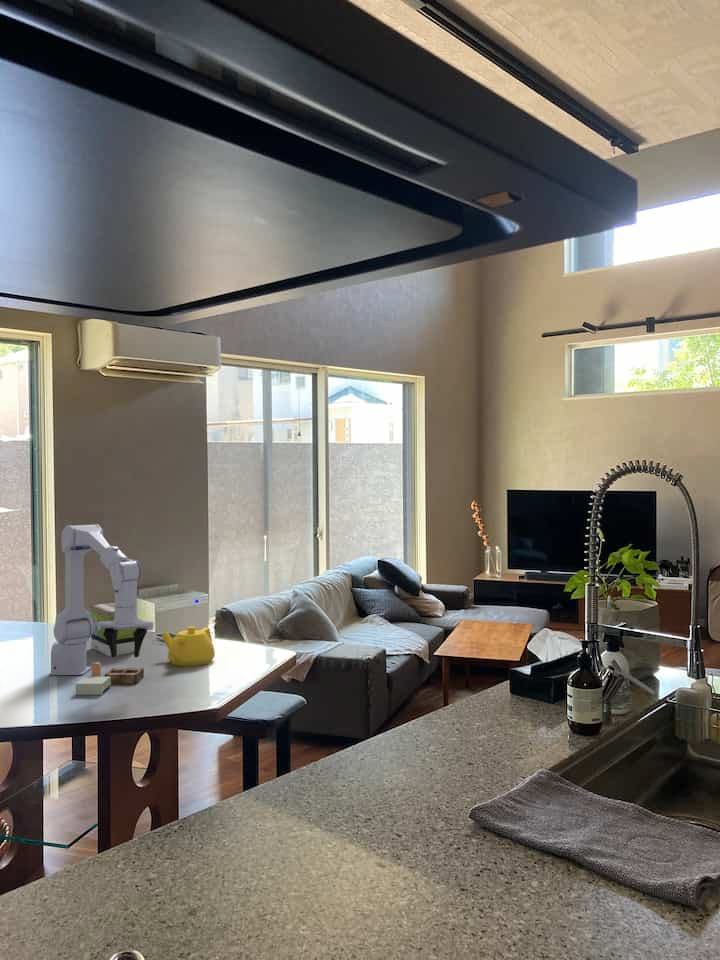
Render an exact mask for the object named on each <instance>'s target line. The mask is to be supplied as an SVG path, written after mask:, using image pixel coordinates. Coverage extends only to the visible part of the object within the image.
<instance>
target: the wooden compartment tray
mask: <svg viewBox="0 0 720 960" xmlns="http://www.w3.org/2000/svg"><path fill="white" fill-rule="evenodd" d="M144 673H145V669H144V668H143V667H141V668H140V667H139V668H138V667H135V668H134V667H133V668H131V667H130V668H129V667H127V668H122V667H121V668H120V667H118V668H117V667H113V668H111V669H109V670H108V671H107V672H105V674H104V676H103V677H111V685H114V684H115V685H116V684H117V685H118V684H119V685H120V684H122V685H123V684H124V685H126V684H127V685H128V684H129V685H133V684H134V685H137V684H138V683H140V681H141V680H142V679H143V678H144V677H145V675H144Z"/></svg>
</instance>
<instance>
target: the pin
mask: <svg viewBox="0 0 720 960" xmlns="http://www.w3.org/2000/svg"><path fill="white" fill-rule="evenodd" d="M101 664H102V663H101V661H93V662H91V676H90V677H102V675H101V674H102V673H101V672H102V670H101V669H102V668H101V667H102V666H101Z"/></svg>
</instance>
